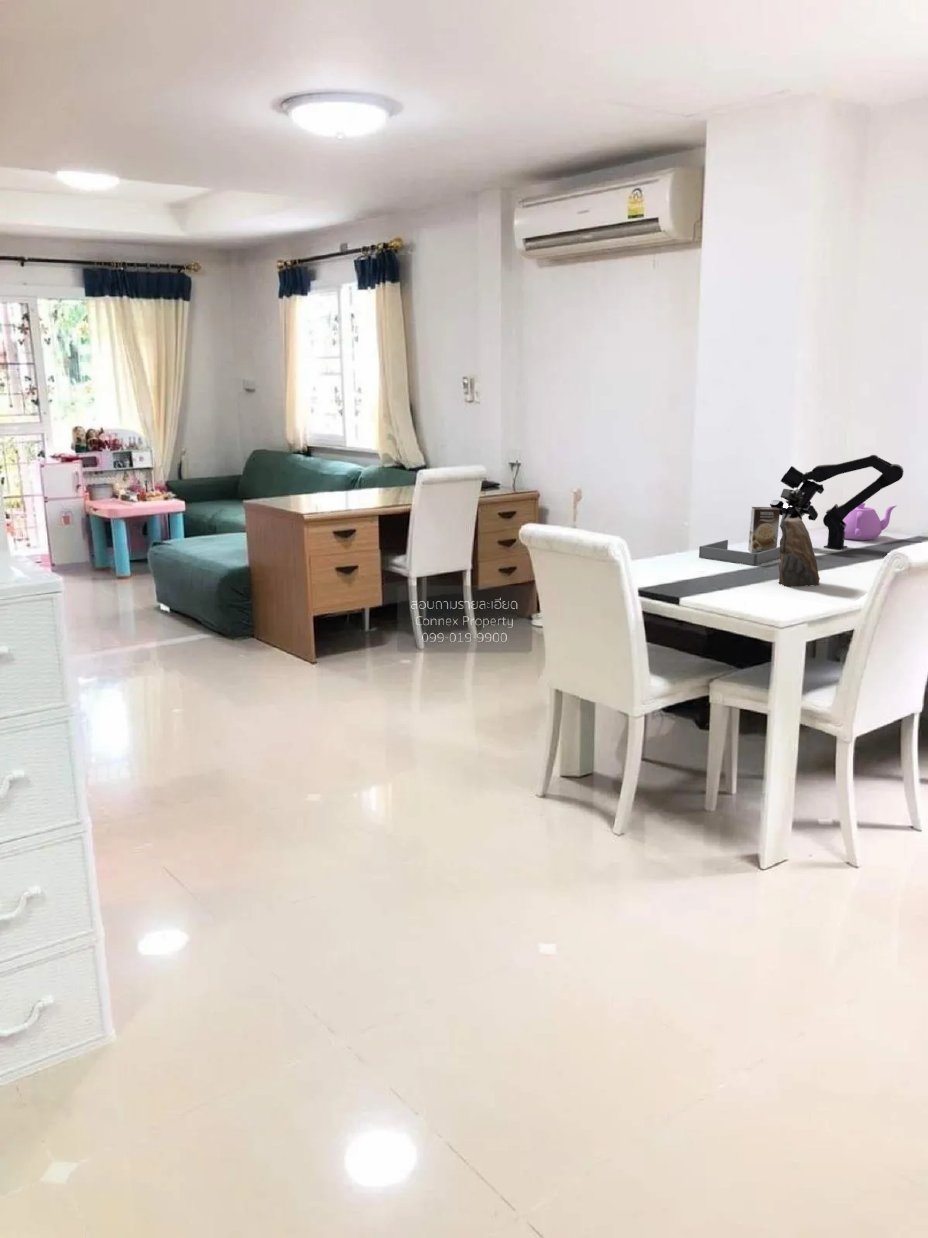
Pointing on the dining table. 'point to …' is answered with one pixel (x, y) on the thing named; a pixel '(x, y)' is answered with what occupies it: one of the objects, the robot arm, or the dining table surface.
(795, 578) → the brown rock
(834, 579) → the dining table surface
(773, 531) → the coffee box
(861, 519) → the teapot
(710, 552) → the box
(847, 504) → the robot arm
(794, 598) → the dining table surface
